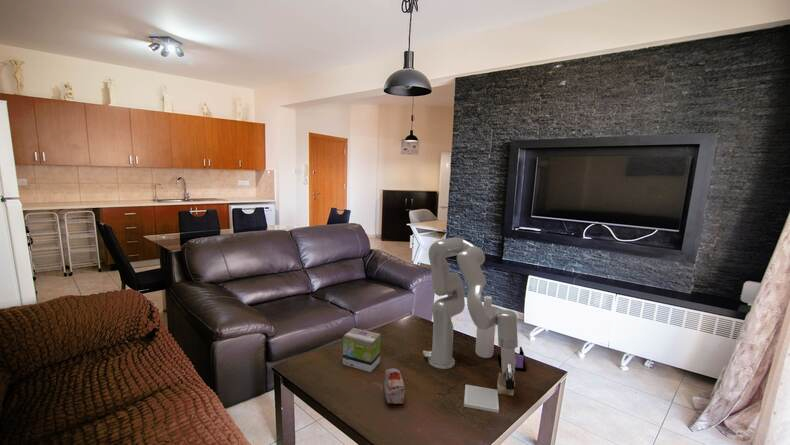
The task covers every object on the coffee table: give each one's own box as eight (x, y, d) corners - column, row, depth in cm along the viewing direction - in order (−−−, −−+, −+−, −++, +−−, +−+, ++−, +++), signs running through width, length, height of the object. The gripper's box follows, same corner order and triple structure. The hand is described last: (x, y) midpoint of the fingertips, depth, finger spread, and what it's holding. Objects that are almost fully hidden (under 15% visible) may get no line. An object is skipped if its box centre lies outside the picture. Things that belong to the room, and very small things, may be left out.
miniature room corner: (526, 371, 161) (527, 357, 160) (499, 367, 163) (500, 354, 162) (522, 358, 173) (523, 345, 172) (497, 355, 175) (498, 342, 174)
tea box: (342, 365, 160) (342, 335, 158) (352, 355, 170) (353, 326, 168) (371, 373, 155) (372, 342, 153) (380, 362, 164) (381, 332, 162)
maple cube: (499, 372, 148) (497, 385, 149) (500, 379, 142) (498, 393, 143) (513, 375, 147) (511, 388, 148) (515, 383, 141) (513, 396, 142)
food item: (406, 406, 133) (407, 382, 132) (386, 407, 132) (386, 383, 131) (399, 385, 147) (400, 363, 145) (380, 386, 145) (381, 364, 144)
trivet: (463, 406, 134) (464, 403, 134) (465, 387, 147) (465, 384, 146) (498, 412, 131) (499, 409, 131) (497, 392, 144) (497, 389, 143)
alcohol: (471, 352, 176) (475, 296, 172) (482, 348, 181) (486, 292, 177) (485, 360, 169) (489, 301, 165) (496, 355, 174) (501, 297, 170)
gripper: (497, 333, 150) (499, 372, 150) (498, 349, 133) (500, 393, 134) (515, 334, 148) (517, 373, 148) (519, 351, 131) (521, 395, 132)
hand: (509, 383), depth 141 cm, fingers open, 9 cm apart
